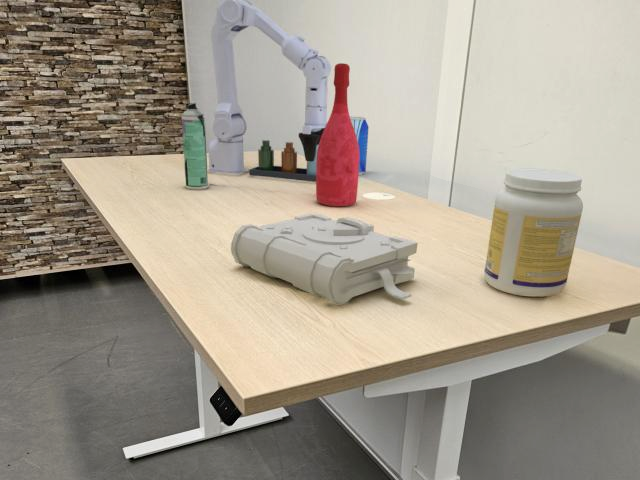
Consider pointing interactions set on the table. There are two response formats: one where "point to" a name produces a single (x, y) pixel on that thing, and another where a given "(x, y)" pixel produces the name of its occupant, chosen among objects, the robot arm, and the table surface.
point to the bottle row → (286, 158)
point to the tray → (283, 174)
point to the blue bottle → (312, 165)
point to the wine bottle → (338, 150)
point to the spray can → (194, 148)
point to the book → (326, 256)
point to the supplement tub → (534, 232)
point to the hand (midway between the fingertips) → (314, 159)
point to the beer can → (361, 140)
